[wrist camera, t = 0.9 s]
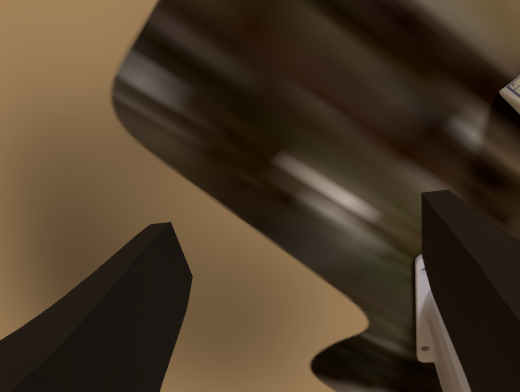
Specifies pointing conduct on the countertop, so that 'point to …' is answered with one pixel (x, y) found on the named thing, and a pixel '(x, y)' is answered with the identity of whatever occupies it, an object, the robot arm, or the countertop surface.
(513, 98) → the medicine box
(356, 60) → the countertop surface
